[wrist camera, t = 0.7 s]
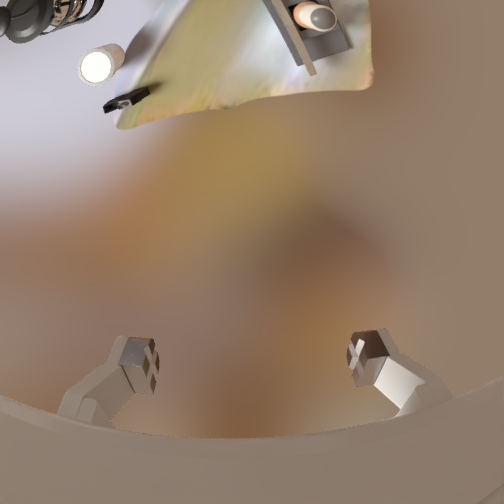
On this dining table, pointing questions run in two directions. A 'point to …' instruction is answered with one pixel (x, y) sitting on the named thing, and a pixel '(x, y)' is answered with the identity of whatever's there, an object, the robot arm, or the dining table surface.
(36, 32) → the french press
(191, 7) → the dining table surface
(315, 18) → the plug
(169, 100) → the dining table surface
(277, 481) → the robot arm
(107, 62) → the white cup
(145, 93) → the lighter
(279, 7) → the ball-tipped lever
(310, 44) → the socket block
